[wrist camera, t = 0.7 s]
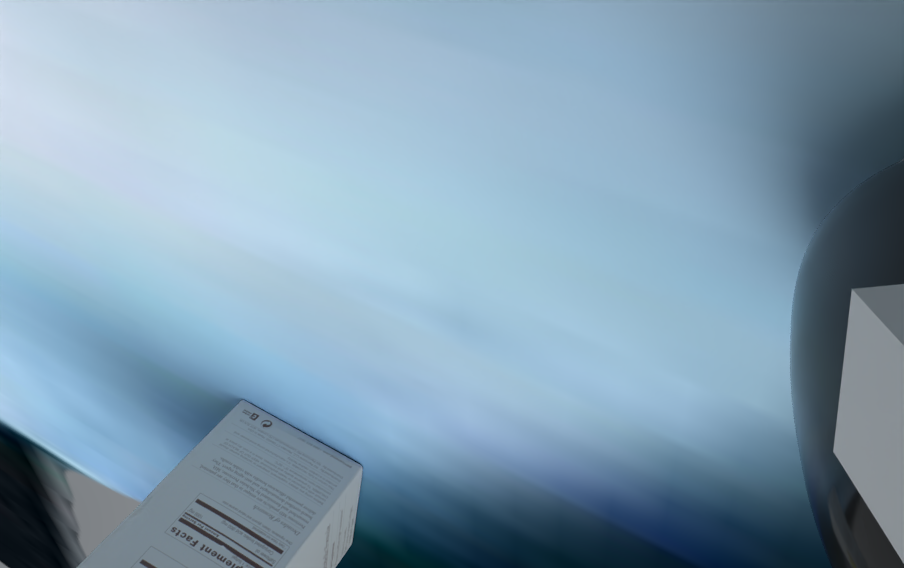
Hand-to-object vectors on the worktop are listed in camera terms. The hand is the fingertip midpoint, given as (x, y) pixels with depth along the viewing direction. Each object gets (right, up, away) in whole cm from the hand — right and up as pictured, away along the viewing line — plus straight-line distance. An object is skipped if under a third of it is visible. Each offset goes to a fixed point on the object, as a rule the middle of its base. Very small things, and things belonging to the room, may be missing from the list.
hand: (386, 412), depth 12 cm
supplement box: (-9, -10, +42) cm, 44 cm away
